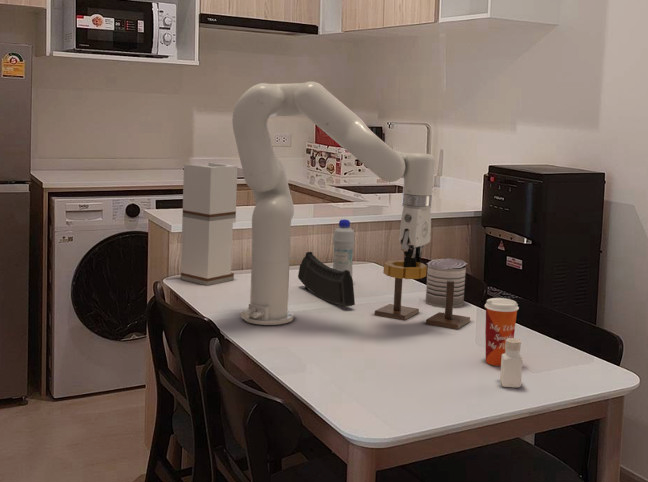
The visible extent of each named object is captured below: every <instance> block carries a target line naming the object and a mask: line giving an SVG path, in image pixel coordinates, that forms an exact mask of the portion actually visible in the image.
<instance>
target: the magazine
mask: <svg viewBox="0 0 648 482" xmlns="http://www.w3.org/2000/svg"><path fill="white" fill-rule="evenodd" d="M297 278H298V280H299V281H300V282H301V283H302V285H303V286H305V289H307V290H309V291H310V292H312V294H313V295H315V296H316V297H318V298H319V299H321V300H323V301H325V302H328V303H331V304H335V305H340V306H343V307H352V306H355V305H356V301H355V289H354V281H353V280H354V279H353V276H352V277H351V275H350V271H348V270H345V271H339V270H336V269H333V267H330V266H328V265H326V264H325V263H323V262H322V261H320V260H319V259H318V258H317V257H316V256H315V255H314V254H313V252H312V251H307V252H305V256H304V257H303V258H302V260H301V263H300V265H299V269H298V274H297Z"/></svg>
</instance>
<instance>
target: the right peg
mask: <svg viewBox="0 0 648 482" xmlns="http://www.w3.org/2000/svg"><path fill="white" fill-rule="evenodd" d="M453 297H454V281H452V280H448V281H447V286H446V303H445V307H444V308H445V309H444V312H441V311H438V312H437V313H435V314H433V315H432V316H430V317H428V318H426V319H425V325H430V326H436V327H442V328H448V329H453V330H460V329H461V328H462V327H465V326H466V325H467V324H469V323H470V322H471V317H470V316H464V315H459V314H453V312H454V311H453V310H454V307H453Z"/></svg>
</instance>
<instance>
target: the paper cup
mask: <svg viewBox="0 0 648 482" xmlns="http://www.w3.org/2000/svg"><path fill="white" fill-rule="evenodd" d="M518 305H519V304H518V303H517V301H515V300H513V299H511V298H504V297H492V298H488V299H487V300H486V302H485V304H484V308H485V331H484V335H485V362H486V364H488V365H491V366H494V367H495V366H496V367H501V358H502V354H504V353H505V341H506V339H508V338H514V339H515V330H516V321H517V314H518V310H519V309H520V307H519V306H518Z"/></svg>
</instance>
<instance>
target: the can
mask: <svg viewBox="0 0 648 482" xmlns="http://www.w3.org/2000/svg"><path fill="white" fill-rule="evenodd" d="M425 265H427V272H426V287H425V302H426V304H427V305H430V306H433V307H439V308H445V303H446V286H447V281H448V280H452V281H454V297H453V308H459V307H461V306H464V304H465V303H464V302H465V287H466V285H465V284H466V274H467V273H466V272H467V271H466V269H467V267H466V266H467V265H468V263H467V262H466V261H465V260H463V259H455V258H449V257H448V258H439V259H438V258H437V259H432V260H430V261H428V262H426V264H425Z"/></svg>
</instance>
